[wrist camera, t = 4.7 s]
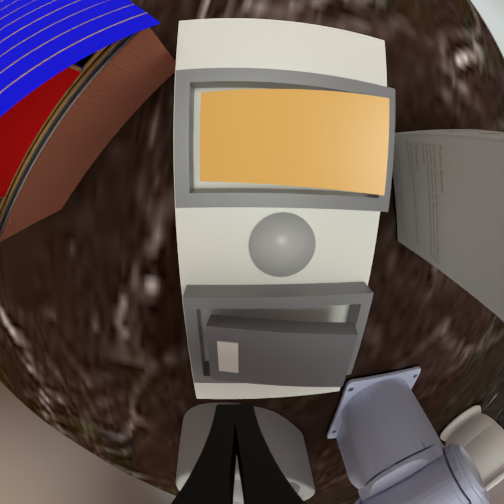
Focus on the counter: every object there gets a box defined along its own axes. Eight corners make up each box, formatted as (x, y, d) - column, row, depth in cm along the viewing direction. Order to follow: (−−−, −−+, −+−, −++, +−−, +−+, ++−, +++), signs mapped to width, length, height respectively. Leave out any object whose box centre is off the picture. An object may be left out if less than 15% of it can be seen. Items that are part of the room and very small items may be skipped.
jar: (491, 398, 29) (530, 454, 15) (453, 437, 32) (483, 494, 18) (467, 399, 27) (512, 470, 13) (422, 444, 30) (454, 512, 16)
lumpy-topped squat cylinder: (238, 467, 27) (241, 526, 19) (156, 421, 23) (142, 496, 15) (314, 439, 25) (331, 504, 17) (242, 383, 21) (248, 478, 13)
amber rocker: (379, 191, 10) (384, 195, 9) (209, 178, 12) (200, 181, 11) (384, 102, 9) (389, 98, 8) (210, 96, 11) (200, 92, 10)
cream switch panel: (328, 364, 21) (344, 403, 17) (199, 369, 20) (195, 412, 16) (361, 54, 13) (396, 33, 9) (188, 41, 12) (173, 10, 8)
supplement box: (467, 223, 17) (591, 297, 5) (394, 242, 17) (533, 359, 6) (463, 127, 14) (611, 152, 3) (383, 129, 15) (576, 147, 3)
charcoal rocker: (339, 374, 14) (342, 387, 13) (214, 366, 15) (210, 379, 14) (353, 322, 13) (358, 335, 12) (210, 314, 14) (205, 326, 13)
